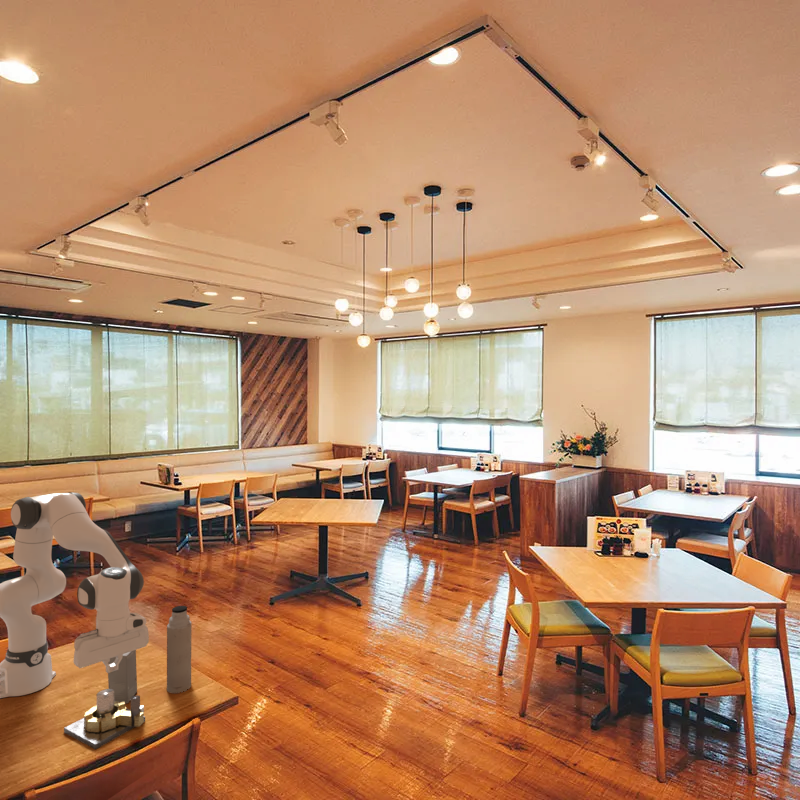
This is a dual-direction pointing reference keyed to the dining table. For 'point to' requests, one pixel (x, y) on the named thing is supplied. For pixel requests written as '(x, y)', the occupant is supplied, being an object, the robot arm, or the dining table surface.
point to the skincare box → (124, 678)
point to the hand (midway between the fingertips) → (112, 671)
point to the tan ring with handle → (115, 717)
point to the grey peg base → (103, 707)
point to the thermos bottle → (179, 651)
